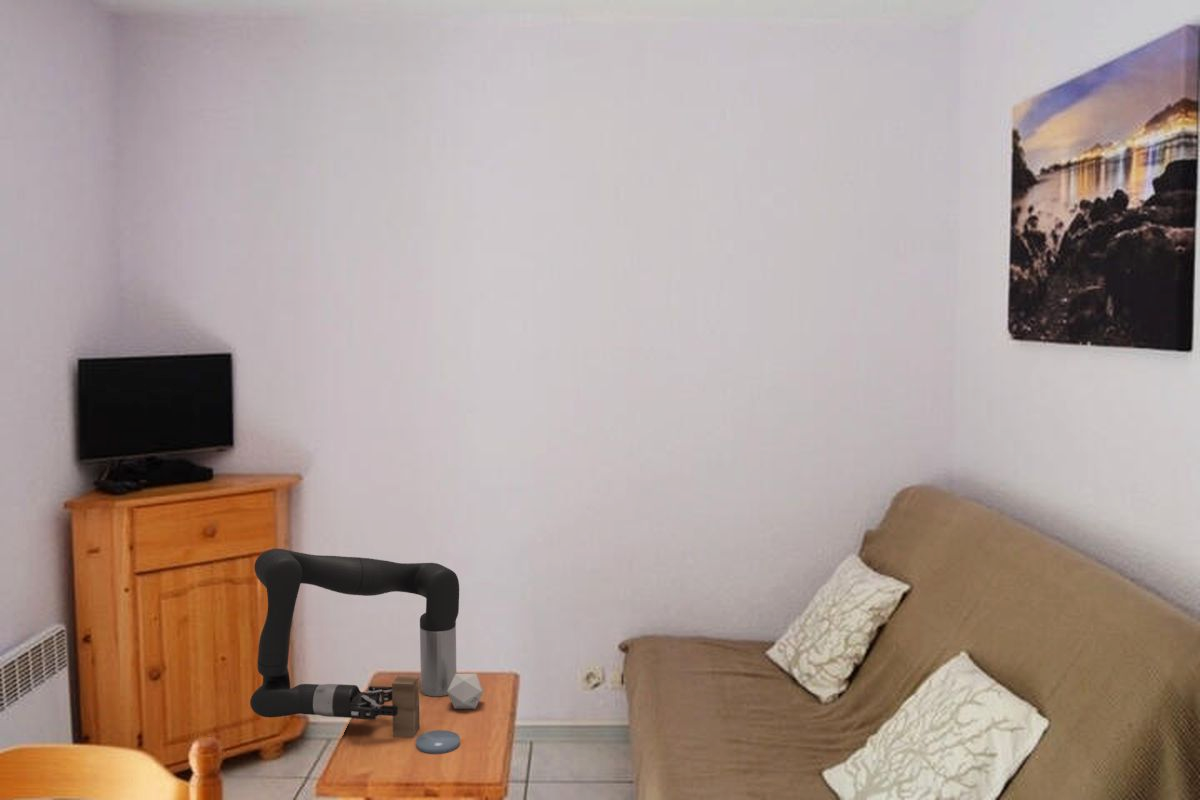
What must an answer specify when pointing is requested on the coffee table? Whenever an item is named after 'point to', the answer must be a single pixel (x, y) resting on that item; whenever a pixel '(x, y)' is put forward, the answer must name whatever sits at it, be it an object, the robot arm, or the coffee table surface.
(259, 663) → the robot arm
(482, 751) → the coffee table surface
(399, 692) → the walnut block
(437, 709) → the coffee table surface
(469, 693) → the die
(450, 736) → the slate dish
